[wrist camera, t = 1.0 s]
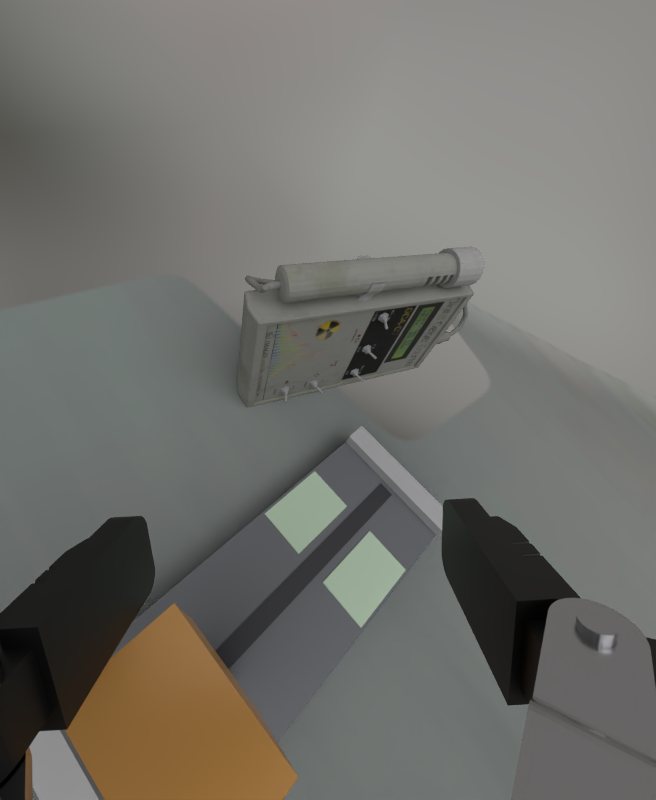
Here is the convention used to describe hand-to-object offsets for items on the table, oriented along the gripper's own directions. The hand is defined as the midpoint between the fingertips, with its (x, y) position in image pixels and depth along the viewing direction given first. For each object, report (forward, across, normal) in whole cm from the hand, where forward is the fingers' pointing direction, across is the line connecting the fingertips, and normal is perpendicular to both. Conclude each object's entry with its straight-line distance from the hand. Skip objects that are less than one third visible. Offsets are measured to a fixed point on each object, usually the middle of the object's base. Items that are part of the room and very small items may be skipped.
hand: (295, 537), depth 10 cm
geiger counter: (+29, -4, 0) cm, 30 cm away
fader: (+7, +7, +13) cm, 16 cm away
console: (+12, +3, +13) cm, 18 cm away
